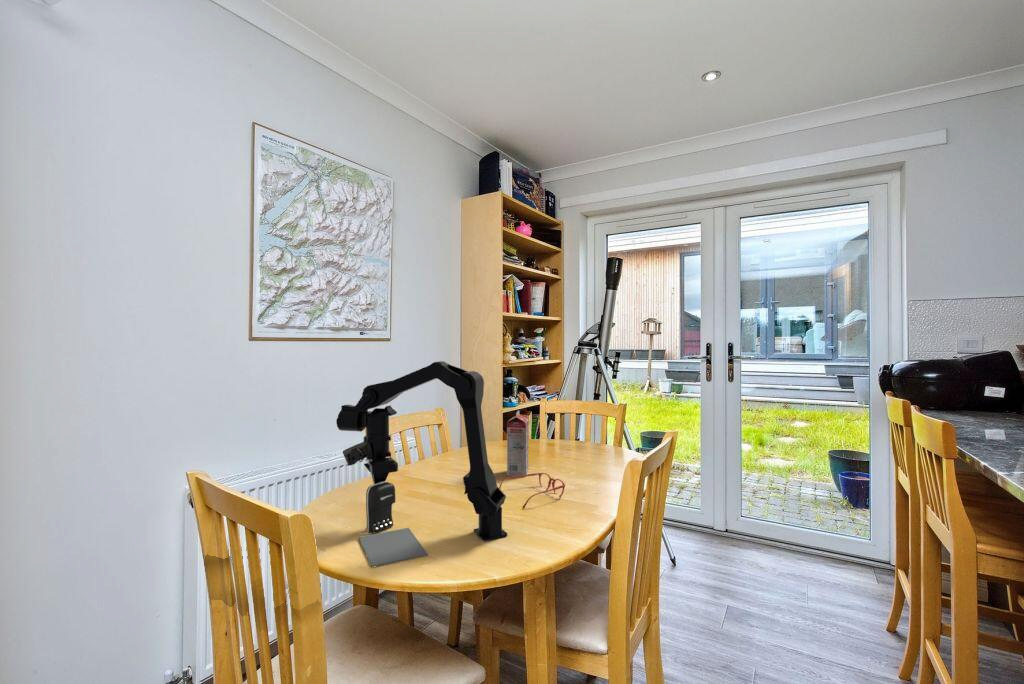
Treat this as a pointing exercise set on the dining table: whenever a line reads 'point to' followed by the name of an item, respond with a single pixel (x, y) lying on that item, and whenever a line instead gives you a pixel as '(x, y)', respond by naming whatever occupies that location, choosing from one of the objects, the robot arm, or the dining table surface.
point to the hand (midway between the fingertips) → (378, 492)
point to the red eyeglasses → (540, 484)
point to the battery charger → (379, 506)
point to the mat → (392, 547)
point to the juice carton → (517, 445)
